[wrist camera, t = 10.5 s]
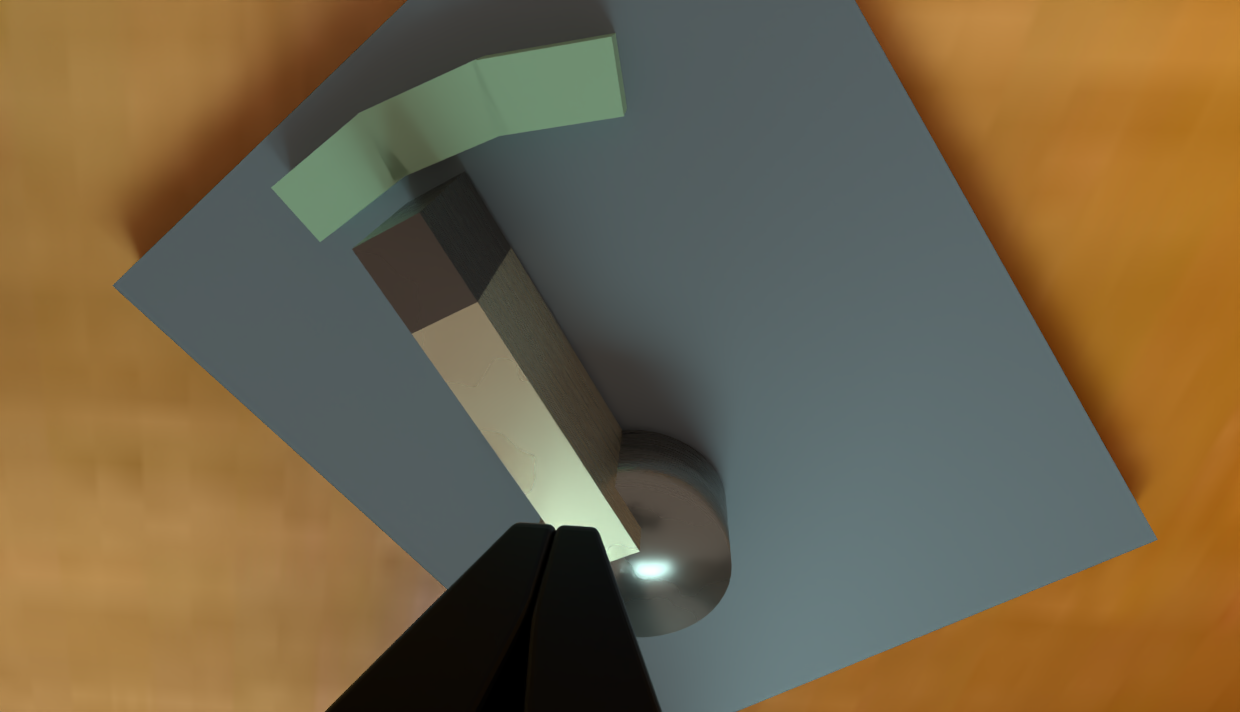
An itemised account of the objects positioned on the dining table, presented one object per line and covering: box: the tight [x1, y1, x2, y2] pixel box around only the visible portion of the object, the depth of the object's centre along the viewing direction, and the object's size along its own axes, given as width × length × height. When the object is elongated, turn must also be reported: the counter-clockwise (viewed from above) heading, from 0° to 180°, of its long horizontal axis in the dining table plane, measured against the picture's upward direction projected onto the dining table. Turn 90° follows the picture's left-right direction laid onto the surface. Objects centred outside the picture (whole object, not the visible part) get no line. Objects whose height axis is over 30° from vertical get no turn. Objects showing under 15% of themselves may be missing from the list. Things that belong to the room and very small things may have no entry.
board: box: [113, 0, 1157, 712], centre depth 19 cm, size 18×22×2 cm
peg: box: [352, 171, 732, 637], centre depth 17 cm, size 12×5×3 cm, turn 28°
